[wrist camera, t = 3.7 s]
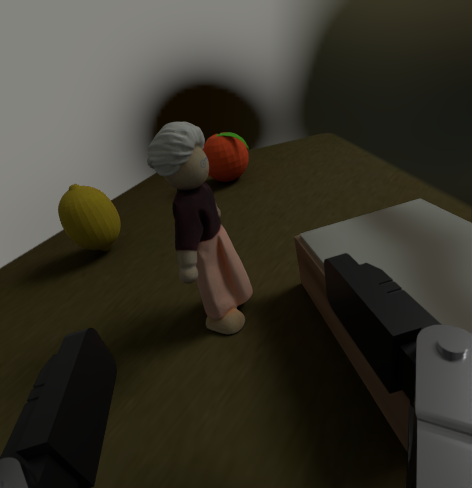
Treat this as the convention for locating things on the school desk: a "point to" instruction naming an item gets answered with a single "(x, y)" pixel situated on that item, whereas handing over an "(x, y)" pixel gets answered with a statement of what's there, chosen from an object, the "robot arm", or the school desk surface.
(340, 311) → the robot arm
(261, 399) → the school desk surface
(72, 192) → the lemon
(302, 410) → the school desk surface
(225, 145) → the clementine
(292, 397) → the school desk surface
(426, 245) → the plinth
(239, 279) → the grandmother figurine
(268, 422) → the school desk surface
